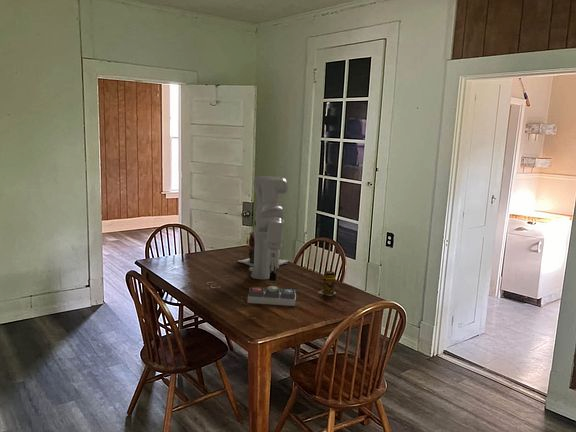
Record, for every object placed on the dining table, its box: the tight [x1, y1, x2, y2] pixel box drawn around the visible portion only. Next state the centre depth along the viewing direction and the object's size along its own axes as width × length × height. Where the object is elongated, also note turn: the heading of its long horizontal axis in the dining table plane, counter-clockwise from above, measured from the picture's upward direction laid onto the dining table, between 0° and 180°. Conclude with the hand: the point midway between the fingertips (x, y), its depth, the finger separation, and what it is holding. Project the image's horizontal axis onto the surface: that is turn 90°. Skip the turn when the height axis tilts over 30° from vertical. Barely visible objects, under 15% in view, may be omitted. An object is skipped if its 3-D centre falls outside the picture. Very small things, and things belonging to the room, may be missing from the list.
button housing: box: [246, 286, 297, 307], centre depth 243 cm, size 24×10×6 cm, turn 88°
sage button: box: [267, 285, 279, 293], centre depth 243 cm, size 5×5×2 cm
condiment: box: [317, 270, 337, 297], centre depth 259 cm, size 7×8×12 cm
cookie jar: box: [237, 219, 289, 268], centre depth 309 cm, size 25×25×32 cm
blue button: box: [283, 289, 293, 294], centre depth 242 cm, size 5×5×2 cm
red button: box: [252, 287, 262, 292], centre depth 243 cm, size 5×5×2 cm
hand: (272, 280), depth 242 cm, fingers closed
